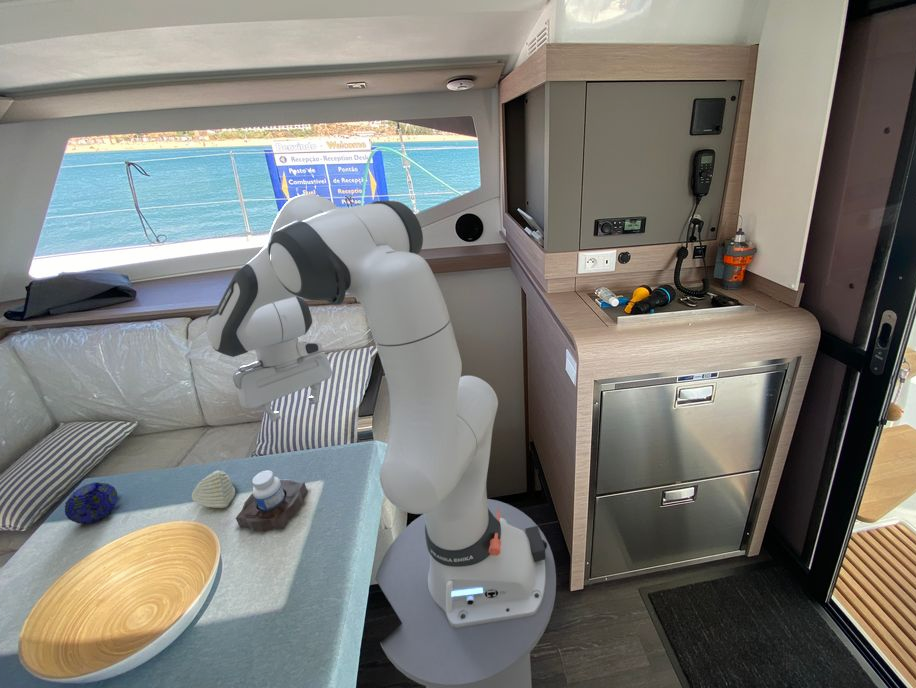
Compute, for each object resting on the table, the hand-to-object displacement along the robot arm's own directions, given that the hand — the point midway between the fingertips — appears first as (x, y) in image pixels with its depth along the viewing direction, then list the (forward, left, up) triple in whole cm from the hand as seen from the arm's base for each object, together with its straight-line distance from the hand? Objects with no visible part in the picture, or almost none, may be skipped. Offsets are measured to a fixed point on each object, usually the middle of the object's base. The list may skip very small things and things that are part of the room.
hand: (296, 411), depth 96 cm
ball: (+45, +14, -19) cm, 50 cm away
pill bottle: (+4, +11, -19) cm, 22 cm away
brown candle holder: (+4, +11, -19) cm, 22 cm away
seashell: (+20, +9, -19) cm, 29 cm away
